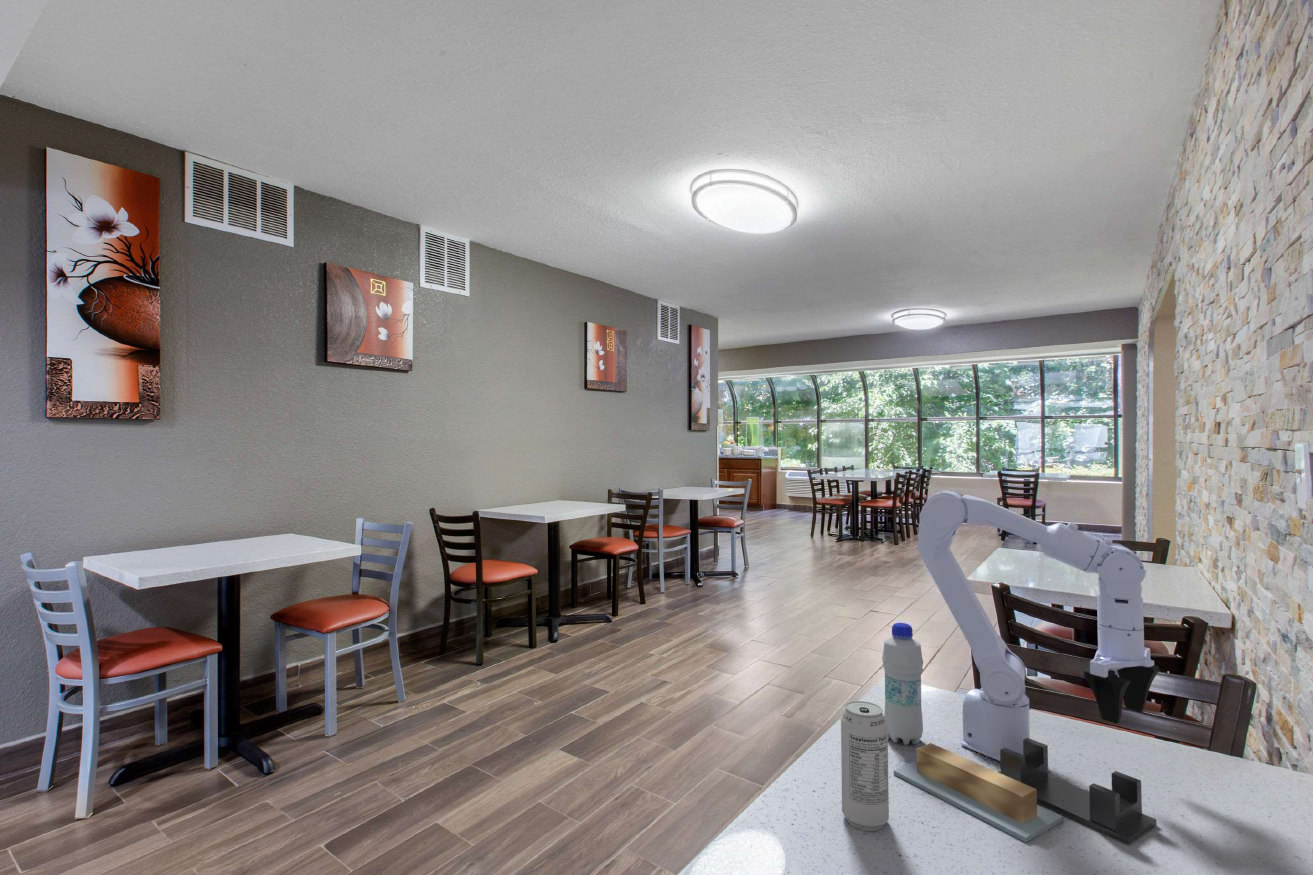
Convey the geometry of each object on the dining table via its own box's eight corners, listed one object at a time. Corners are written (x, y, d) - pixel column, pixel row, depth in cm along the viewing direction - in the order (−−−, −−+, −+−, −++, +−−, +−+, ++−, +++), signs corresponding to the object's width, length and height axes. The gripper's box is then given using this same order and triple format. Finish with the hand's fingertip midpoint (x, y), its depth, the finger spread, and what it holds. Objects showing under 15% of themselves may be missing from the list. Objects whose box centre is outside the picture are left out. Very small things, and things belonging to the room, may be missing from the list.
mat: (893, 774, 97) (893, 770, 97) (930, 759, 101) (930, 755, 101) (1026, 842, 80) (1025, 837, 80) (1062, 820, 84) (1062, 816, 84)
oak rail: (916, 771, 96) (916, 748, 97) (931, 765, 98) (930, 742, 98) (1022, 823, 83) (1022, 796, 83) (1037, 815, 85) (1036, 789, 85)
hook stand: (989, 781, 95) (989, 745, 95) (1019, 767, 99) (1018, 733, 99) (1128, 844, 79) (1127, 802, 79) (1156, 825, 83) (1155, 784, 83)
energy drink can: (884, 809, 87) (883, 700, 88) (892, 835, 81) (891, 718, 82) (839, 805, 88) (838, 698, 89) (844, 830, 82) (843, 715, 83)
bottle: (928, 749, 105) (926, 629, 105) (886, 746, 106) (884, 627, 107) (919, 732, 111) (918, 618, 112) (880, 729, 113) (878, 617, 113)
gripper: (1127, 639, 89) (1130, 736, 89) (1172, 624, 96) (1175, 714, 96) (1073, 627, 95) (1076, 718, 95) (1120, 614, 102) (1122, 698, 102)
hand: (1122, 715), depth 96 cm, fingers open, 7 cm apart
